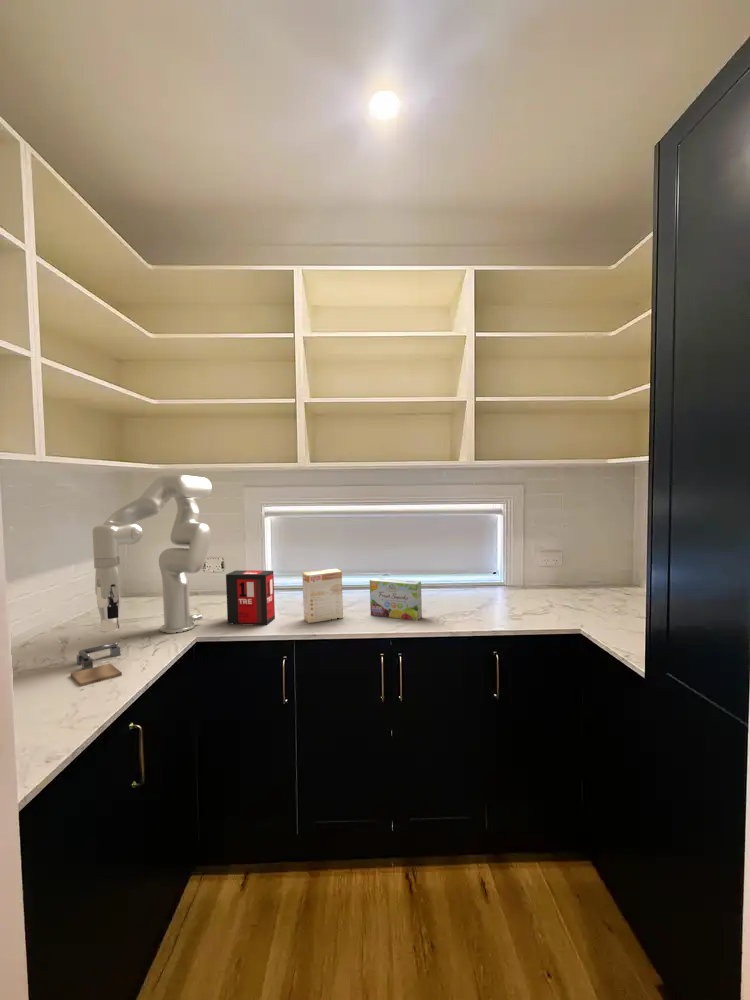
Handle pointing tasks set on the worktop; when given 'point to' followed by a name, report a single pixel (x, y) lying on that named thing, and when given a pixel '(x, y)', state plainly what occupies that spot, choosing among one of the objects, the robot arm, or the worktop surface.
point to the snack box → (396, 598)
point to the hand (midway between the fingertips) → (109, 615)
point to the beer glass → (106, 623)
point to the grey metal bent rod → (85, 657)
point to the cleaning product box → (250, 597)
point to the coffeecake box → (322, 595)
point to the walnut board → (95, 674)
